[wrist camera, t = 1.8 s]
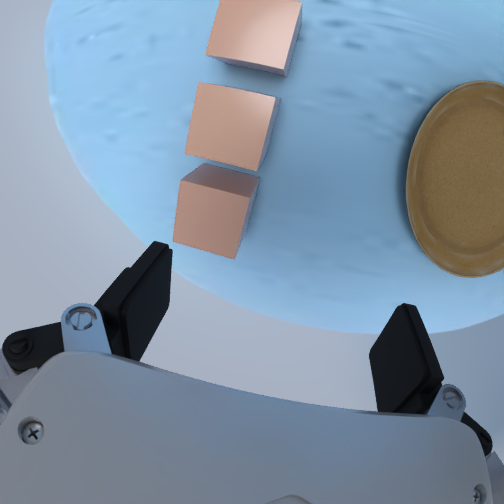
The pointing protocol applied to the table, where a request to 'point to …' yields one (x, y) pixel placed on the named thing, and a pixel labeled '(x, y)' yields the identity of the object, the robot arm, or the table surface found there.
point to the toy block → (231, 125)
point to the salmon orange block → (214, 209)
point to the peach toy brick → (256, 33)
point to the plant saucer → (460, 181)
